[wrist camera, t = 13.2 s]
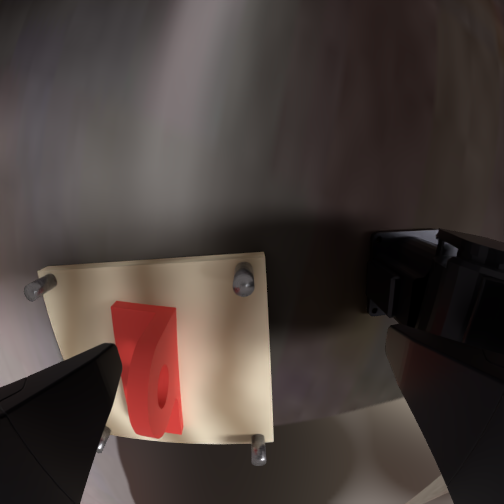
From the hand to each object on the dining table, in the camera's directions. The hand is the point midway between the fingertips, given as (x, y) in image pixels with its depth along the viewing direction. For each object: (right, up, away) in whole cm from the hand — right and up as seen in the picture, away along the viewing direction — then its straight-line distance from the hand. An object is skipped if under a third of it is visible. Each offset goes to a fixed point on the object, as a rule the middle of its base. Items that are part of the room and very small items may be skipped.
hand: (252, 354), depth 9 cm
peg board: (-8, -6, +14) cm, 17 cm away
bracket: (-8, -6, +12) cm, 16 cm away
